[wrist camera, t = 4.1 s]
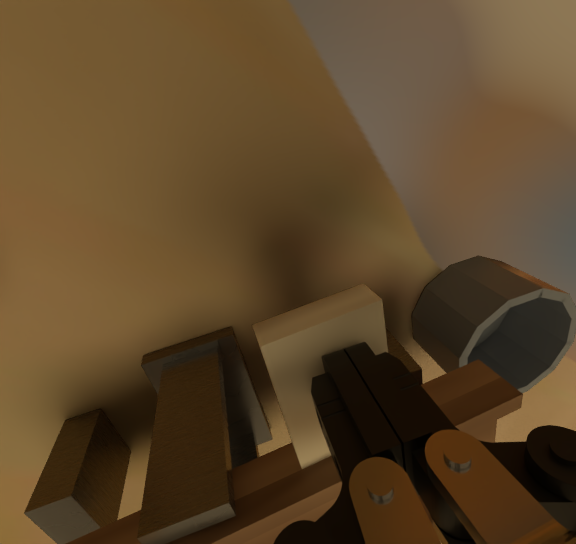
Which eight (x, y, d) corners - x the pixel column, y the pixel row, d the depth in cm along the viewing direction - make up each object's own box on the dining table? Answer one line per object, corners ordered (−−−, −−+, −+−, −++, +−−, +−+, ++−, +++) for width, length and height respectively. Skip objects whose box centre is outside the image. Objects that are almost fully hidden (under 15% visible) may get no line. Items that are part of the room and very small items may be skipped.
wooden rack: (40, 389, 18) (-94, 619, 10) (369, 280, 20) (487, 394, 12) (117, 486, 22) (68, 704, 14) (383, 387, 24) (477, 526, 16)
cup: (409, 278, 20) (460, 317, 17) (516, 242, 21) (589, 271, 17) (415, 368, 24) (458, 418, 20) (507, 334, 25) (566, 376, 21)
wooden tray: (-186, 488, 9) (-447, 753, 5) (485, 237, 12) (617, 286, 9) (59, 648, 14) (20, 830, 11) (473, 443, 18) (551, 526, 14)
